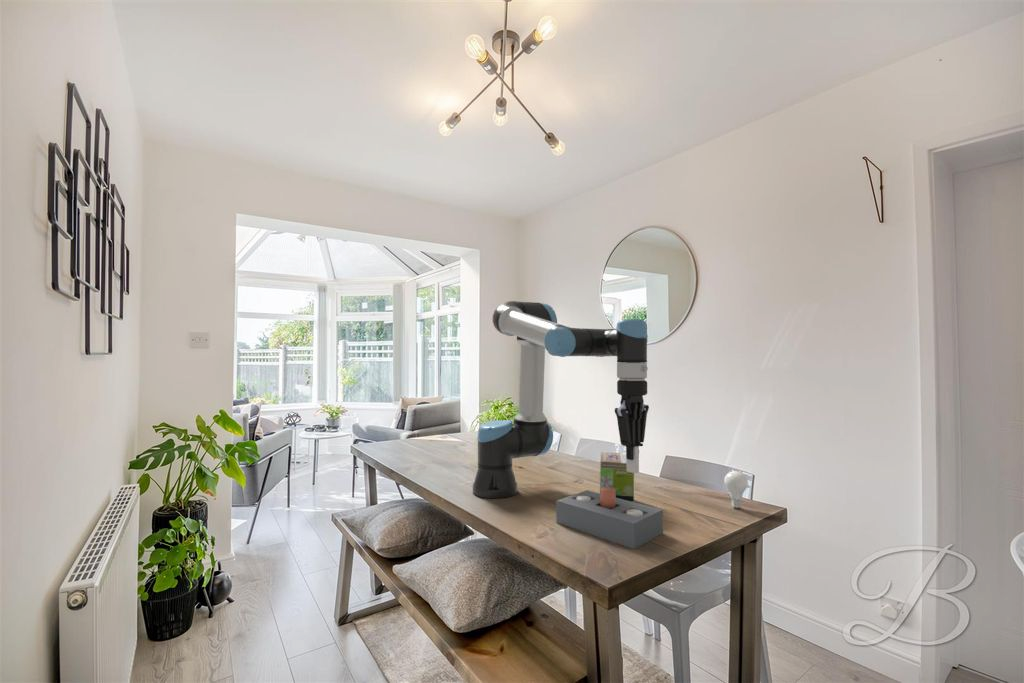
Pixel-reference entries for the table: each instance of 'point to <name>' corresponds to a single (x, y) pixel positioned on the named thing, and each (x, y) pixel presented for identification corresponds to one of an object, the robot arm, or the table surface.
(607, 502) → the brown egg
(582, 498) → the grey plunger
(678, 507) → the table surface
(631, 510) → the grey plunger
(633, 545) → the board
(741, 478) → the lightbulb
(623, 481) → the tea box
